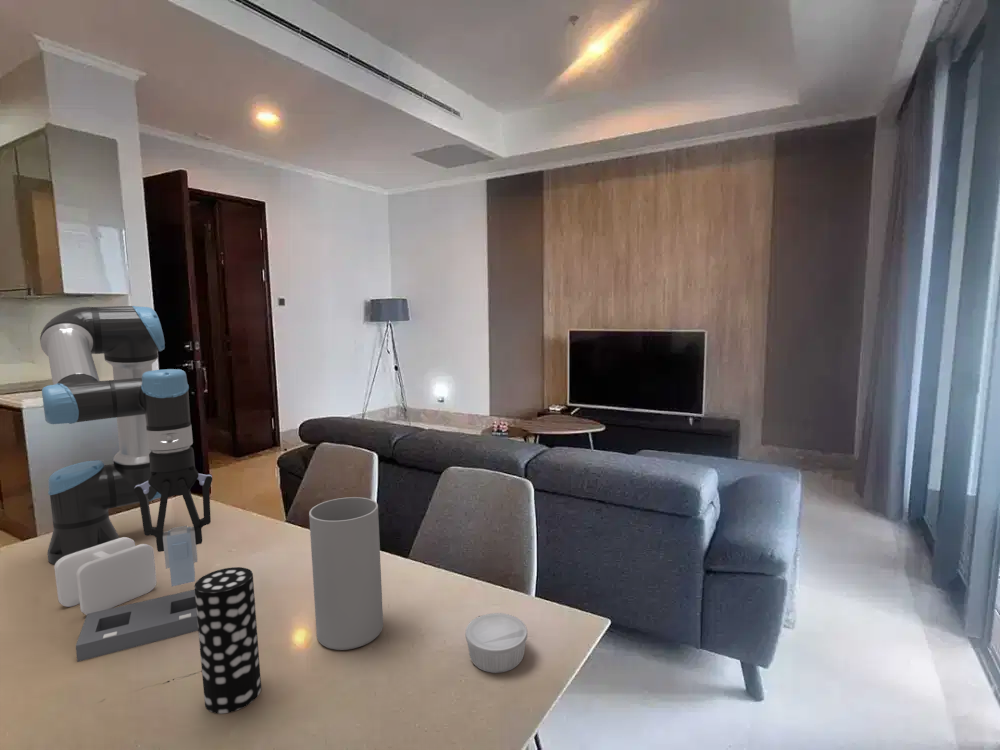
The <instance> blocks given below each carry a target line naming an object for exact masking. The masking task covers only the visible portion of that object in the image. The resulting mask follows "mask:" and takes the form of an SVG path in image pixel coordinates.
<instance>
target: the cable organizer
mask: <svg viewBox="0 0 1000 750" xmlns="http://www.w3.org/2000/svg"><path fill="white" fill-rule="evenodd" d="M53 566H54V567H53V568H54V578H55V584H56V593H57V598H58V599H57V600H58V603H59V604H60V605H61V606H64V607H66V608H69V607H74V606H77V605H79V608H80V612H81V613H83V614H84V615H86V616H87V614H89V613H93V612H98V611H102V610H106V609H111V608H115V607H119V606H121V605H123V604H125V603H127V602H130V601H132V600H134V599H137V598H139V597H141V596H144V595H146V594H148V593H151V592H152V591H153V590H154V589H155V588H156V585H157V583H158V582H157V572H156V563H155V553H154V547H153V546H152V545H149V544H147V543H140V544H137V545H136V542H135V540H134V539H133V538H129V537H126V536H123V537H122V536H121V537H119V538H118V539H115V540H112V541H109V542H106V543H103V544H100V545H97V546H93V547H90V548H87V549H84V550H81V551H78V552H75V553H72V554H69V555H66V556H64V557H62V558H60V559H59V560H58V561H57V562H56V563H55V564H54V565H53Z"/></svg>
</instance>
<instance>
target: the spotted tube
mask: <svg viewBox="0 0 1000 750" xmlns="http://www.w3.org/2000/svg"><path fill="white" fill-rule="evenodd" d="M254 584H255V583H254V573H253V571H252V570H251V569H249V568H246V567H241V566H239V567H237V566H235V567H226V568H225V567H224V568H221V569H218V570H214V571H211V572H209V573H207V574H205V575H202V576H201V577H200V578H199V579H198V580H196V581H195V583H194V586H193V587H194V589H195V599H196V610H197V621H198V631H197V632H198V642H199V650H200V651H199V653H200V663H201V675H202V686H203V699H204V708H205V709H206V710H208V712H211V713H213V714H229V713H233V712H236V711H238V710H240V709H243V708H245V707H247V706H248V705H250V704H251V703H253V702H254V701H255V700H256V699H257V698H258V696H259V695H260V694H261V691H262V679H261V677H262V676H261V668H260V666H261V665H260V655H259V653H260V652H259V651H260V650H259V642H258V641H259V640H258V639H259V637H258V627H257V625H258V624H257V612H256V602H255V601H256V599H255V586H254Z"/></svg>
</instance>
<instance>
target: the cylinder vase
mask: <svg viewBox="0 0 1000 750" xmlns="http://www.w3.org/2000/svg"><path fill="white" fill-rule="evenodd" d="M308 514H309V515H308V517H309V533H310V547H311V548H310V549H311V551H310V552H311V563H312V564H311V566H312V582H313V583H312V584H313V585H312V586H313V596H314V614H315V615H314V616H315V630H316V638H317V641H318V642H319V643H320V644H321V645H322V646H323V647H326V648H327V649H329V650H335V651H336V650H338V651H345V650H348V651H349V650H352V649H357V648H360V647H363V646H365V645H368V644H369V643H371V642H372V641H374V640H375V639H376V638H377V637H378V636H379V635H380V634H381V632H382V630H383V627H384V614H383V612H384V611H383V610H384V608H383V593H382V592H383V590H382V586H383V585H382V571H381V569H382V568H381V545H380V544H381V543H380V525H379V520H380V519H379V504H378V502H376V501H375V500H374V499H370V498H368V497H359V496H358V497H357V496H352V497H341V498H334V499H328V500H326V501H323V502H320V503H318V504H317V505H315V506H312V508H311V509H309V512H308Z"/></svg>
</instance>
